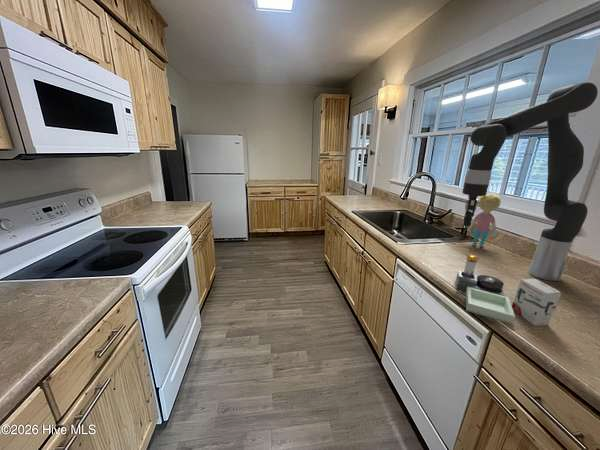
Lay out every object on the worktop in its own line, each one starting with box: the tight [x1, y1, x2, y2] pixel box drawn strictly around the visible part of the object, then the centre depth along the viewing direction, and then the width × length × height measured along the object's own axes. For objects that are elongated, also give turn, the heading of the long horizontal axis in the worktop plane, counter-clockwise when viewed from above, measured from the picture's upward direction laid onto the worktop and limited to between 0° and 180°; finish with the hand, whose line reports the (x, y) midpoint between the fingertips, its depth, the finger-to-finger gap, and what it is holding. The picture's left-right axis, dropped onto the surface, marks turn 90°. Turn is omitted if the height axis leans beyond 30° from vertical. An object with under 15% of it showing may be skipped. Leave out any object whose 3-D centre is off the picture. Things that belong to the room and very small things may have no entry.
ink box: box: [511, 278, 562, 327], centre depth 77 cm, size 9×5×12 cm, turn 5°
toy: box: [466, 193, 502, 248], centre depth 131 cm, size 13×10×30 cm
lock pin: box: [463, 254, 479, 278], centre depth 93 cm, size 3×3×10 cm
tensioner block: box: [455, 269, 505, 296], centre depth 92 cm, size 14×10×6 cm
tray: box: [464, 287, 516, 325], centre depth 82 cm, size 12×12×3 cm
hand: (466, 223), depth 96 cm, fingers open, 8 cm apart
